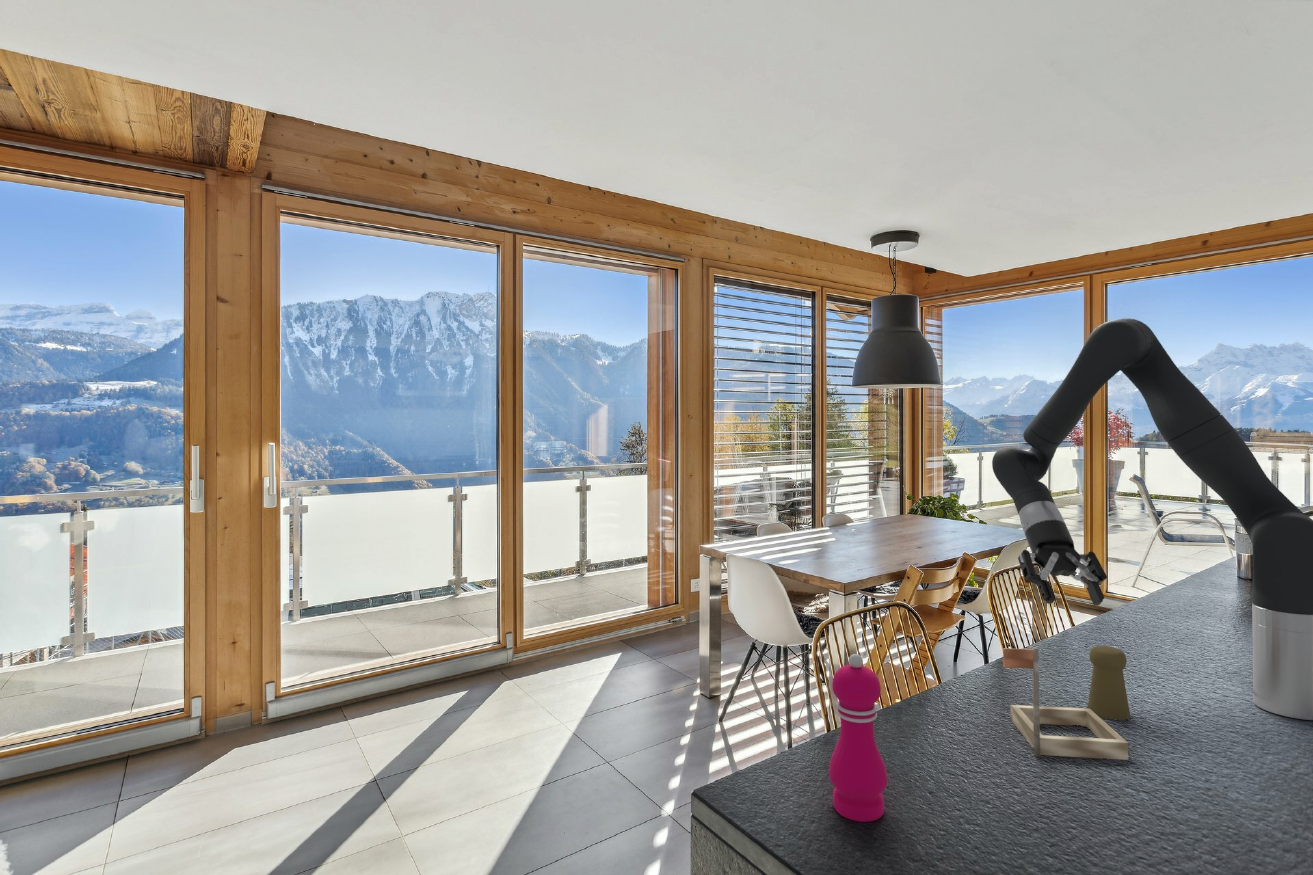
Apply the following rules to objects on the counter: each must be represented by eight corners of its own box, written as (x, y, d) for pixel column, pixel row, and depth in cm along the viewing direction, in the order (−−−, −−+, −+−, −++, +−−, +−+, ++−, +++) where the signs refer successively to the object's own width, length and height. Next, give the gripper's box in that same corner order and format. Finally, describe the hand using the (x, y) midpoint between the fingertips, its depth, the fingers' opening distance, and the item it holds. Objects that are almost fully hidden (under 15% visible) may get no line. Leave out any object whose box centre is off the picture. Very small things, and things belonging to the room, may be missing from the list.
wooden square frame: (1089, 723, 109) (1088, 626, 109) (1131, 762, 96) (1129, 652, 96) (979, 718, 112) (978, 622, 111) (1005, 755, 99) (1004, 647, 99)
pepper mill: (821, 794, 89) (819, 646, 89) (874, 791, 90) (871, 643, 90) (841, 826, 82) (838, 665, 82) (897, 822, 83) (895, 662, 83)
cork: (1137, 721, 109) (1136, 654, 109) (1096, 719, 110) (1095, 652, 110) (1119, 706, 115) (1119, 642, 115) (1081, 704, 116) (1080, 641, 116)
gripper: (1016, 517, 131) (1044, 591, 121) (1089, 519, 131) (1125, 593, 120) (1001, 538, 137) (1027, 610, 126) (1072, 540, 136) (1104, 613, 126)
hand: (1075, 602), depth 123 cm, fingers open, 8 cm apart
